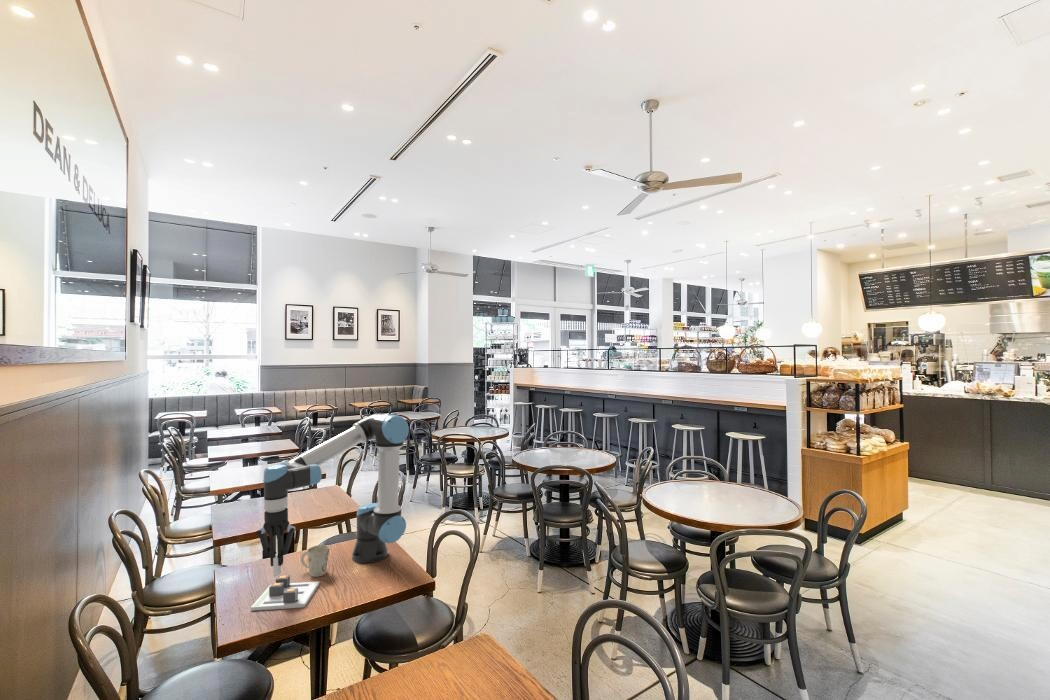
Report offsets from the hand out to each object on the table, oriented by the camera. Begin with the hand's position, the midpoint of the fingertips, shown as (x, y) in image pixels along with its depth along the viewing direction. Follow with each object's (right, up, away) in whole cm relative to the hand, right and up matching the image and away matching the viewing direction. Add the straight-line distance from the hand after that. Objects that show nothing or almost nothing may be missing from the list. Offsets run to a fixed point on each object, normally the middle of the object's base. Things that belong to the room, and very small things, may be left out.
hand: (277, 574), depth 167 cm
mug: (+2, -12, +25) cm, 28 cm away
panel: (+1, -11, +5) cm, 12 cm away
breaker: (+5, -9, 0) cm, 11 cm away
